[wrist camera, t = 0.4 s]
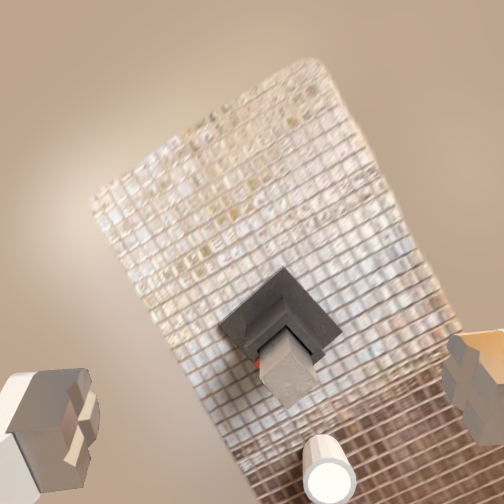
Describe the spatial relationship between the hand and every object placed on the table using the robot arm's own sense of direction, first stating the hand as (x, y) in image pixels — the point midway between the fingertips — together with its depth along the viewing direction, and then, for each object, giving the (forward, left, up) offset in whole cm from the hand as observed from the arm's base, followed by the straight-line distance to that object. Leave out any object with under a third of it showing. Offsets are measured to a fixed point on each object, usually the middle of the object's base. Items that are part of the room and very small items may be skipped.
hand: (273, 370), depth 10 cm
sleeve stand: (-11, +7, -50) cm, 52 cm away
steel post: (-11, +7, -48) cm, 50 cm away
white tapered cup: (-29, +15, -50) cm, 60 cm away
